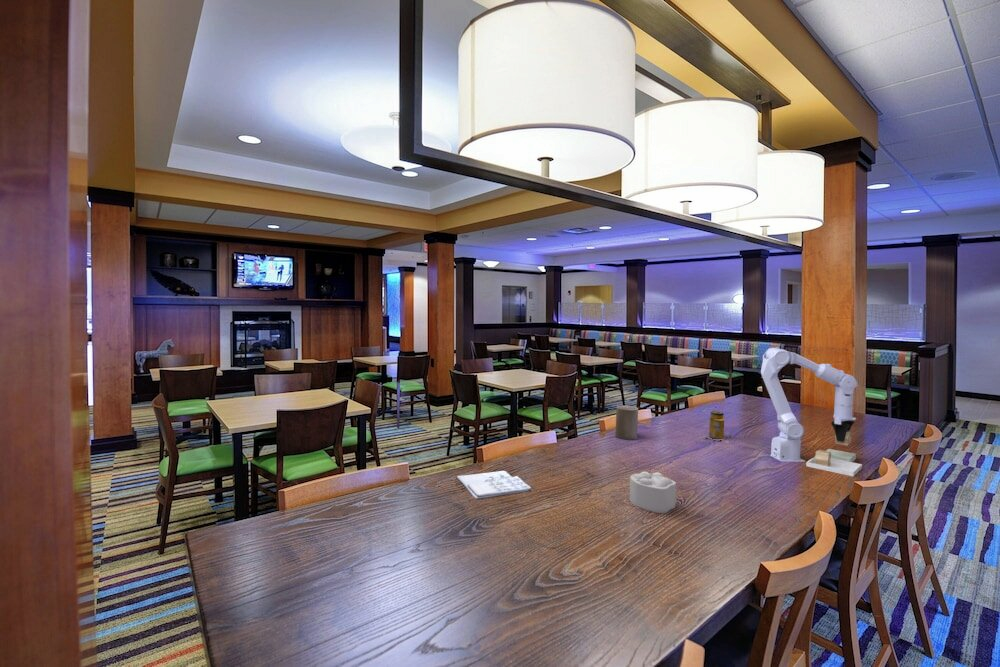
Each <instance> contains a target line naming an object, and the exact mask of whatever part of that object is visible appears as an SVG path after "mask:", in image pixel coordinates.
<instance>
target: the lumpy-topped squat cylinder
mask: <svg viewBox="0 0 1000 667" xmlns="http://www.w3.org/2000/svg"><path fill="white" fill-rule="evenodd" d="M676 494H677V482H676V481H674V480H672V479H670V478H668V477H666V476H664V475H663V473H661V472H658V471H656V472H653V473H651V472H648V471H641V472H640V473H633V474H631V475H630V478H629V501H630V503H631V504H633V505H634V506H636V507H638V508H640V509H643V510H646V511H648V512H649V511H650V512H653V513H657V514H667V513H668V512H669V511H671V510H673V509H675V508H676V505H677V504H676V500H677V497H676V496H677V495H676Z"/></svg>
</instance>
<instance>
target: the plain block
mask: <svg viewBox="0 0 1000 667" xmlns="http://www.w3.org/2000/svg"><path fill="white" fill-rule="evenodd" d="M814 457H815V464H819V465H824V466H828V467H829V466H830V465H831V452H829V451H826V450H823V449H818V450H816V451H815V456H814Z"/></svg>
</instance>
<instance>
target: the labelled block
mask: <svg viewBox="0 0 1000 667" xmlns="http://www.w3.org/2000/svg"><path fill="white" fill-rule="evenodd" d="M851 433H852V431H851V430H850V431H848V430H847V432H846V436H845V440H844V442H841V441H837V439H836V434H835V433H834V444H835V445H841V446H842V445H843V446H847V447H849V445H851V436H852V435H851Z"/></svg>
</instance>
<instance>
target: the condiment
mask: <svg viewBox="0 0 1000 667" xmlns="http://www.w3.org/2000/svg"><path fill="white" fill-rule="evenodd" d="M724 417H725V416H724V413H723V412H721V411H717V410H716V411H711V412H710V417H709V432H708V436H709V437H710V438H712V439H723V437H724V438H725V432H724V431H725V418H724ZM706 437H707V436H705V437H703V439H705V438H706Z"/></svg>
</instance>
